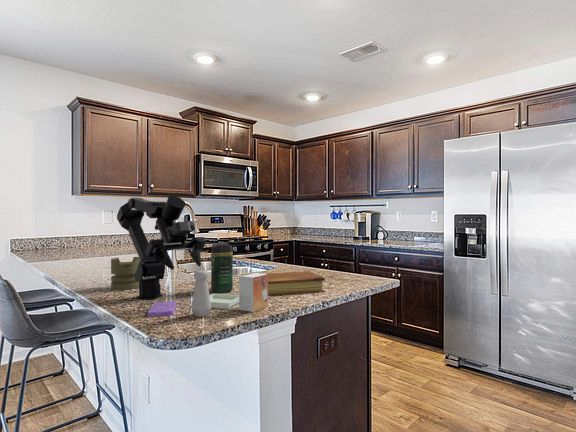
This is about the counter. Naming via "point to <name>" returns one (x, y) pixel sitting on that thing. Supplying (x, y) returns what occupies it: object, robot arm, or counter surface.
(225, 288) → the coffee jar
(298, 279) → the diary
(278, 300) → the counter surface
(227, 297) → the tray
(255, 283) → the small box
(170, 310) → the sponges
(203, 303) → the salt shaker
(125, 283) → the piston
